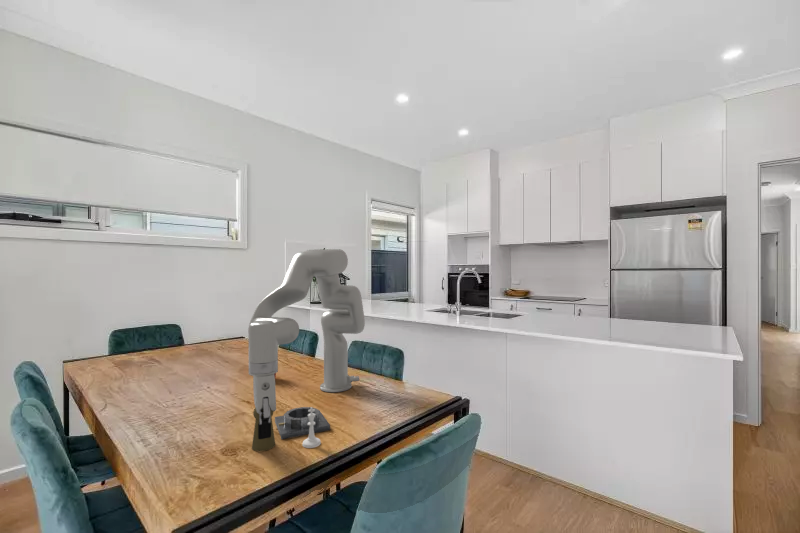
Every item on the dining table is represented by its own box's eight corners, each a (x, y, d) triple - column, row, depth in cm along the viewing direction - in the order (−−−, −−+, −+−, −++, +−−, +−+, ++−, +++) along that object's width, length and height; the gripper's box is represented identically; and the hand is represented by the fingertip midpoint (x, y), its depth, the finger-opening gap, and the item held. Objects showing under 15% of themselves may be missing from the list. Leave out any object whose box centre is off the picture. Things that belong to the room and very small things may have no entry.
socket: (318, 414, 127) (318, 402, 127) (330, 430, 114) (330, 417, 114) (274, 421, 121) (274, 409, 121) (281, 439, 108) (281, 425, 108)
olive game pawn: (267, 452, 100) (267, 410, 100) (247, 450, 102) (247, 408, 102) (279, 442, 106) (279, 402, 106) (259, 440, 108) (259, 401, 108)
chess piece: (304, 440, 107) (303, 404, 107) (321, 439, 108) (321, 404, 108) (300, 448, 102) (300, 411, 102) (319, 447, 103) (319, 410, 103)
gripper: (282, 372, 98) (282, 444, 98) (273, 359, 113) (273, 421, 113) (251, 376, 95) (251, 450, 95) (246, 362, 110) (246, 425, 110)
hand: (263, 433), depth 104 cm, fingers closed on olive game pawn, 4 cm apart
